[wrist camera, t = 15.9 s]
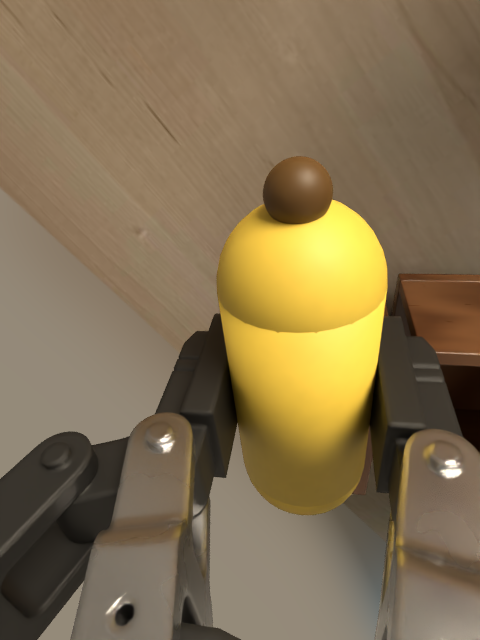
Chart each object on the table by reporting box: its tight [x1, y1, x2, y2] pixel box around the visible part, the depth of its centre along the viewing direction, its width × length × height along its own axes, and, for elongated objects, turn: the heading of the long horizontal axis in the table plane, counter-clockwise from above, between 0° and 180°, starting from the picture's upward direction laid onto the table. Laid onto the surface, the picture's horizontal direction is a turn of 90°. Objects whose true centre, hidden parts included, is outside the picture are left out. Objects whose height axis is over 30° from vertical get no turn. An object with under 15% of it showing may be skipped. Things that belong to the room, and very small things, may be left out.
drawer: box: [352, 274, 480, 495], centre depth 25 cm, size 20×13×8 cm, turn 94°
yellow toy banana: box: [216, 156, 387, 515], centre depth 10 cm, size 10×3×3 cm, turn 6°
